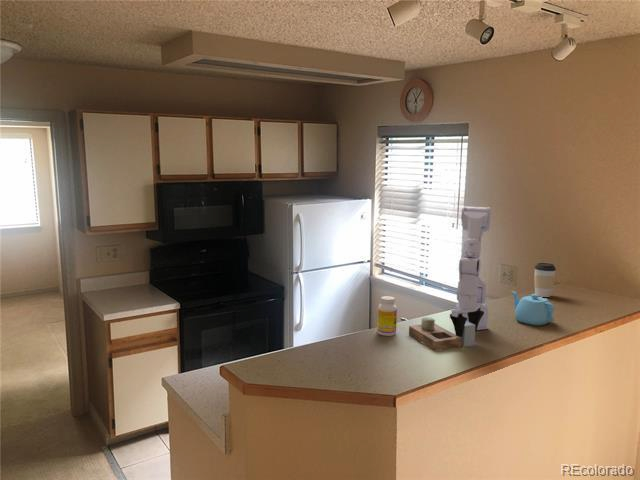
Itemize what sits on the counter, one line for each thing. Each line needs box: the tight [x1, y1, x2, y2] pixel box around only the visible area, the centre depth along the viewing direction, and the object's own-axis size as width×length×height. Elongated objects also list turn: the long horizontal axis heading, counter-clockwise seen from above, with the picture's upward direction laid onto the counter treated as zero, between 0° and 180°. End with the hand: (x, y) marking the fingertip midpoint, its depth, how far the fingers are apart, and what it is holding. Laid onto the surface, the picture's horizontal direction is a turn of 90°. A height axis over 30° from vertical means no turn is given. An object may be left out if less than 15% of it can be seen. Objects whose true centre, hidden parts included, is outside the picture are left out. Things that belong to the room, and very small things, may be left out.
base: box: [408, 317, 463, 351], centre depth 172 cm, size 10×16×6 cm, turn 20°
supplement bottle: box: [376, 295, 398, 337], centre depth 178 cm, size 7×7×13 cm
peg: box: [461, 321, 476, 347], centre depth 169 cm, size 4×4×7 cm
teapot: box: [510, 290, 555, 326], centre depth 194 cm, size 13×11×18 cm
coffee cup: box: [533, 262, 557, 298], centre depth 231 cm, size 9×9×15 cm
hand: (465, 333), depth 169 cm, fingers open, 7 cm apart
